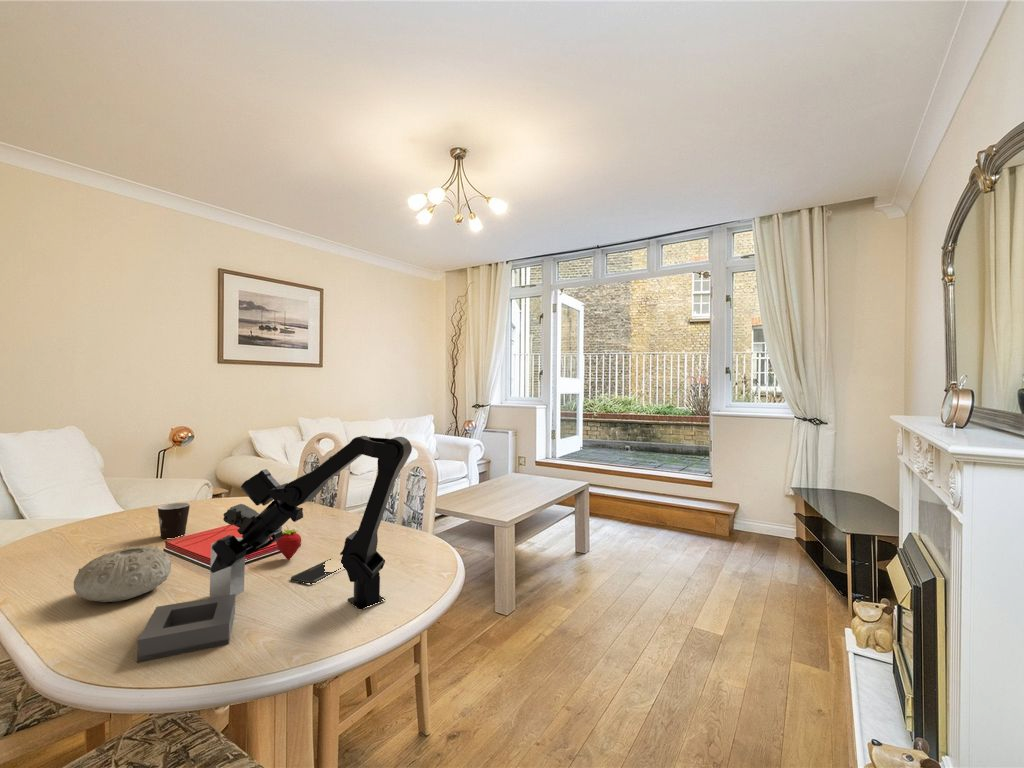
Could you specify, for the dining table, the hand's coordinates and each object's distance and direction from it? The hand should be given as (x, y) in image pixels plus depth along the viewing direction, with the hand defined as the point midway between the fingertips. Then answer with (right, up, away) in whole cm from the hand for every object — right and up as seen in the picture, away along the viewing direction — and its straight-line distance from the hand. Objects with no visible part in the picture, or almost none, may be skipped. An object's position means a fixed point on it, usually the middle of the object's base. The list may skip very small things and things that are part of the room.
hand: (225, 563), depth 108 cm
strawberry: (+4, -8, +23) cm, 25 cm away
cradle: (+4, -7, -18) cm, 20 cm away
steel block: (0, -7, 0) cm, 7 cm away
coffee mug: (-43, -8, +41) cm, 60 cm away
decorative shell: (-24, -7, 0) cm, 25 cm away
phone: (+17, -9, +14) cm, 24 cm away
